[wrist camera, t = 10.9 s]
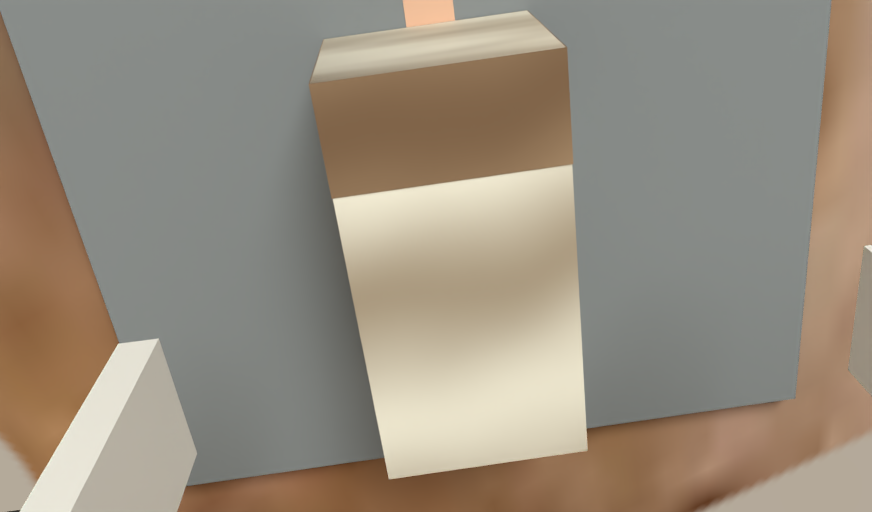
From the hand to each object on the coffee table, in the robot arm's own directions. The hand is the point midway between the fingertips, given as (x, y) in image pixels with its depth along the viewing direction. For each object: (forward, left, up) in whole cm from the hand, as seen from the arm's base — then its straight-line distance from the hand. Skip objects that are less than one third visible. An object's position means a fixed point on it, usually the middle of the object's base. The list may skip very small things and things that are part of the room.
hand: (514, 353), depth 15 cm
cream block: (+1, 0, -7) cm, 7 cm away
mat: (0, 0, -8) cm, 8 cm away
